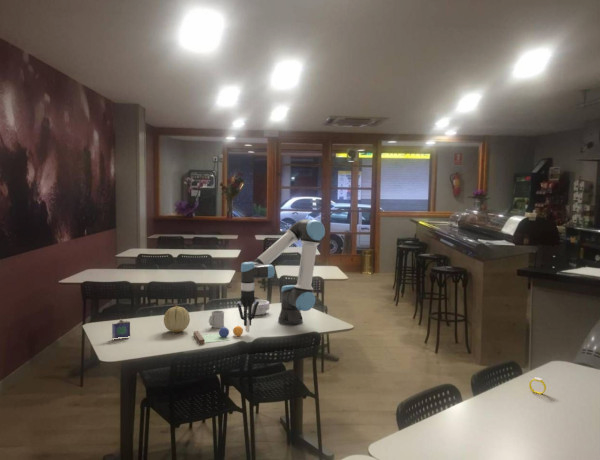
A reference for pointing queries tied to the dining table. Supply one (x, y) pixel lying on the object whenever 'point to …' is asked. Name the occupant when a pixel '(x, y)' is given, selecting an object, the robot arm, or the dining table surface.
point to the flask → (121, 329)
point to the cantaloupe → (176, 319)
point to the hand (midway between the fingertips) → (247, 331)
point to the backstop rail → (199, 337)
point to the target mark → (214, 338)
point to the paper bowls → (261, 307)
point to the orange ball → (238, 331)
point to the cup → (217, 319)
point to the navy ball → (223, 332)
